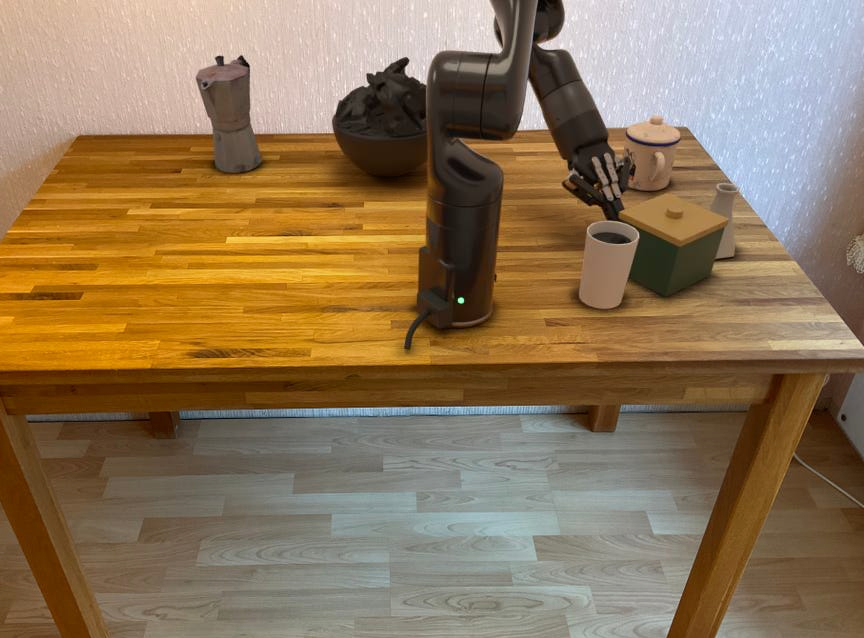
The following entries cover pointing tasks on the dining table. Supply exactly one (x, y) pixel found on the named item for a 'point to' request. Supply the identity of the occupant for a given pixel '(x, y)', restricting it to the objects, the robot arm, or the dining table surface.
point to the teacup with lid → (651, 153)
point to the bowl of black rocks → (384, 123)
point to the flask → (724, 208)
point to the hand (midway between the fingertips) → (620, 225)
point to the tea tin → (673, 242)
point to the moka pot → (230, 114)
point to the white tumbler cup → (607, 263)
